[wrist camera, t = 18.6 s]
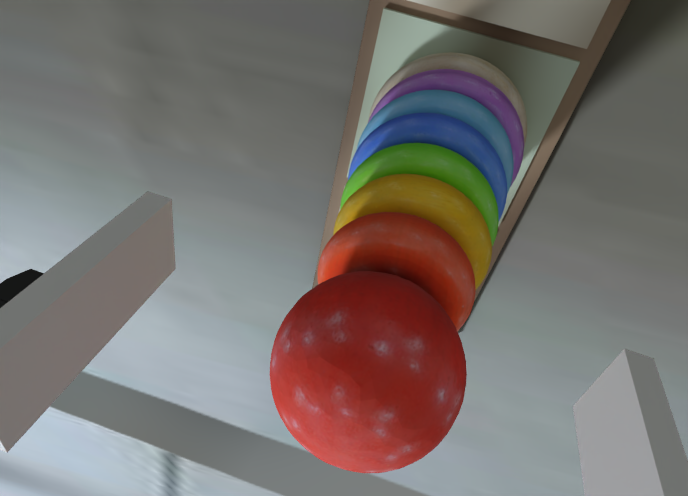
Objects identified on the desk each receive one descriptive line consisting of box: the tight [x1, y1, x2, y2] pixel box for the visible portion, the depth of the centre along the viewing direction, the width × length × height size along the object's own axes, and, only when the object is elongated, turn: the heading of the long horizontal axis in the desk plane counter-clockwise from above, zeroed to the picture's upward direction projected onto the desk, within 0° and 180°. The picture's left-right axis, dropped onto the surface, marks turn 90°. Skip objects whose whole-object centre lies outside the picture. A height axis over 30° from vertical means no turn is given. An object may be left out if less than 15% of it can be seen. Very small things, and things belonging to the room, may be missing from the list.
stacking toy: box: [270, 52, 527, 473], centre depth 17 cm, size 8×8×19 cm
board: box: [312, 0, 631, 332], centre depth 25 cm, size 11×30×1 cm, turn 169°
